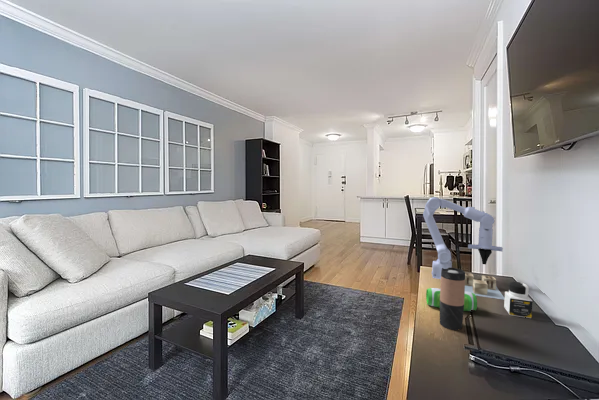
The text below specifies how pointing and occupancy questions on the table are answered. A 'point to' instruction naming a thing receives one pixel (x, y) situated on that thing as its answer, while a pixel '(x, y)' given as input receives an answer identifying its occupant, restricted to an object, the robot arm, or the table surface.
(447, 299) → the travel mug
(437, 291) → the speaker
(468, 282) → the one bar block
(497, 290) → the mat
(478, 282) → the plain block
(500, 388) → the table surface
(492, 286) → the two bar block
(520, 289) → the medicine bottle
